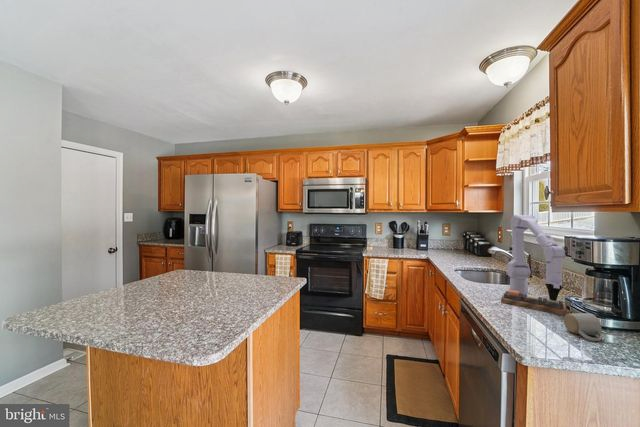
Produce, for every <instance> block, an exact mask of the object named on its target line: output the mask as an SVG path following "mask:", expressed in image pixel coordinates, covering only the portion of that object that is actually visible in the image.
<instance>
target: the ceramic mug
mask: <svg viewBox="0 0 640 427" xmlns="http://www.w3.org/2000/svg"><path fill="white" fill-rule="evenodd" d="M563 324H564V327H565V328H566V329H567V331H569V333H572V334H576V335H580V336H582V338H584V339H586V340H588V341H590V342H595V341H598V342H600V341H601V340H602V338H603V336H602V330H603V329H602V325H601V324H602V323H601V322H600V320H599V318H598V317H597V316H595V314H593V313H588V312H587V313H585V312H583V313H579V312H578V313H566V315H565V316H564V317H563ZM592 336H596V337H592ZM597 336H598V337H597Z"/></svg>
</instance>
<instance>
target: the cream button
mask: <svg viewBox="0 0 640 427" xmlns="http://www.w3.org/2000/svg"><path fill="white" fill-rule="evenodd" d="M539 297H540V296H539V295H533V294H527V298H531V299H537V300H539Z"/></svg>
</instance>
